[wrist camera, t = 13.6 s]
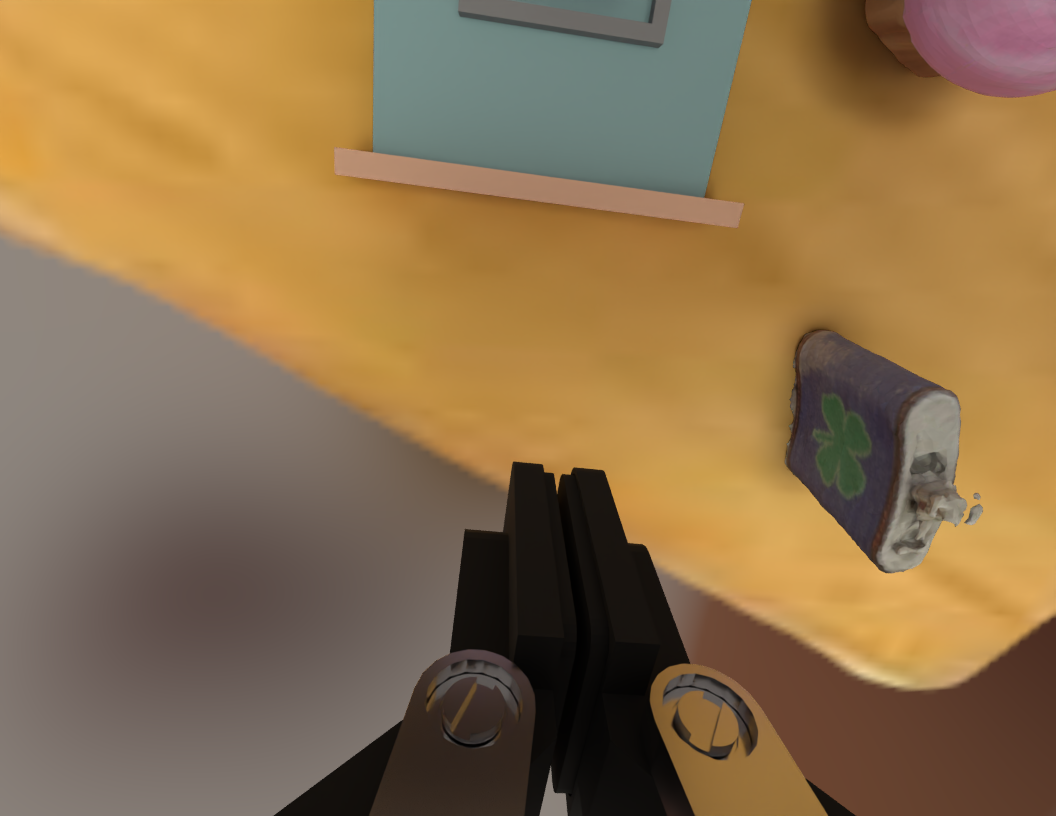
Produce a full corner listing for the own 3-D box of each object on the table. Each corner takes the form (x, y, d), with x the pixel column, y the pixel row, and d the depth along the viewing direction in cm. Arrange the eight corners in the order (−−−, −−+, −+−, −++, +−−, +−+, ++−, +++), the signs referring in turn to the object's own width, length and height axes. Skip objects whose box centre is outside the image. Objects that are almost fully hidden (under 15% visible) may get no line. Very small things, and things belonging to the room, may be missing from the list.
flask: (795, 330, 28) (945, 413, 19) (849, 324, 28) (1029, 404, 19) (780, 477, 32) (899, 610, 22) (828, 472, 32) (969, 603, 22)
